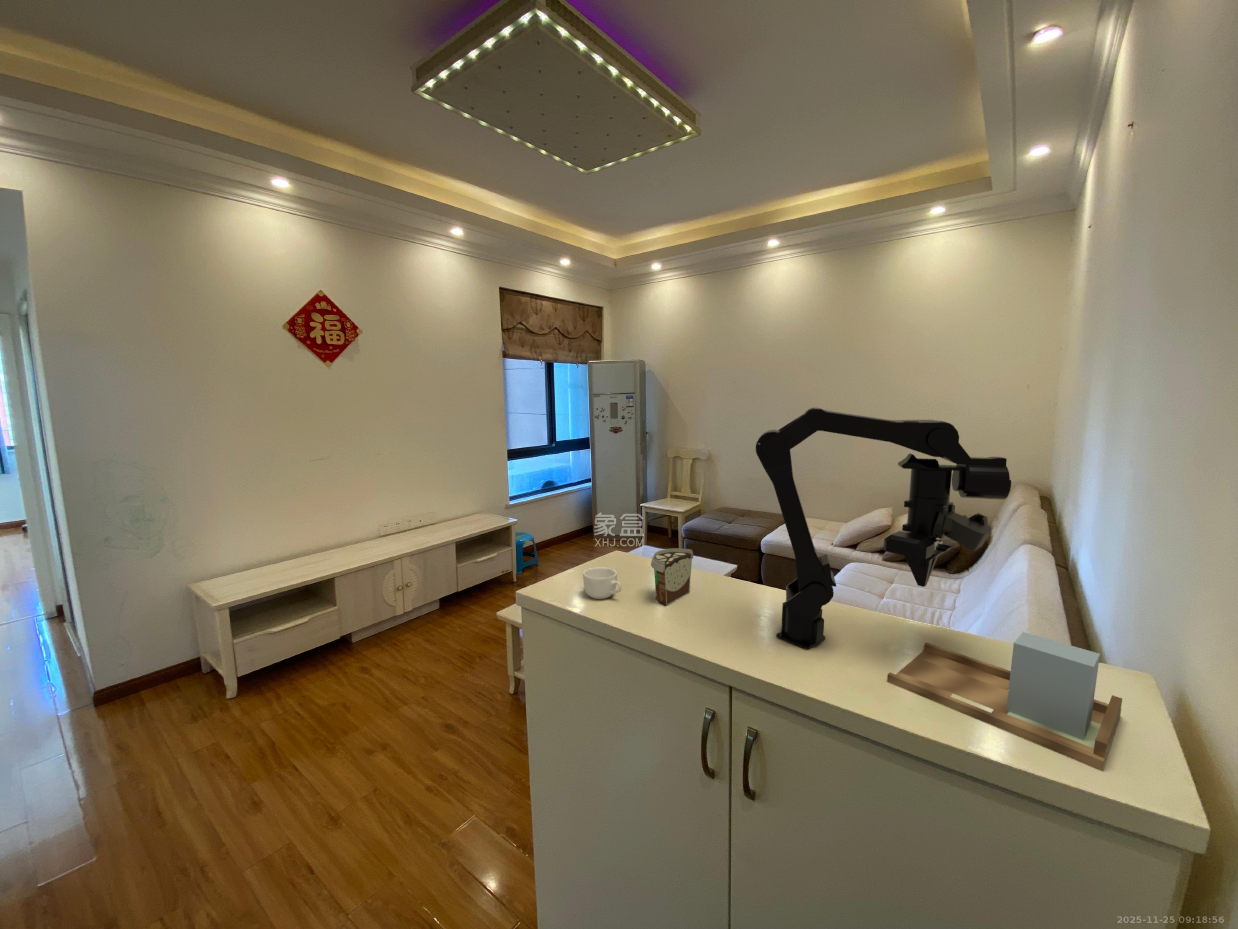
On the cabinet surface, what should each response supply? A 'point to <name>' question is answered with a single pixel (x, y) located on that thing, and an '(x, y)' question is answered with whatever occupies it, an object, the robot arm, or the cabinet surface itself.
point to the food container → (672, 574)
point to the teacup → (600, 582)
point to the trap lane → (1002, 702)
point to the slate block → (1053, 684)
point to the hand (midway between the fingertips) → (921, 585)
